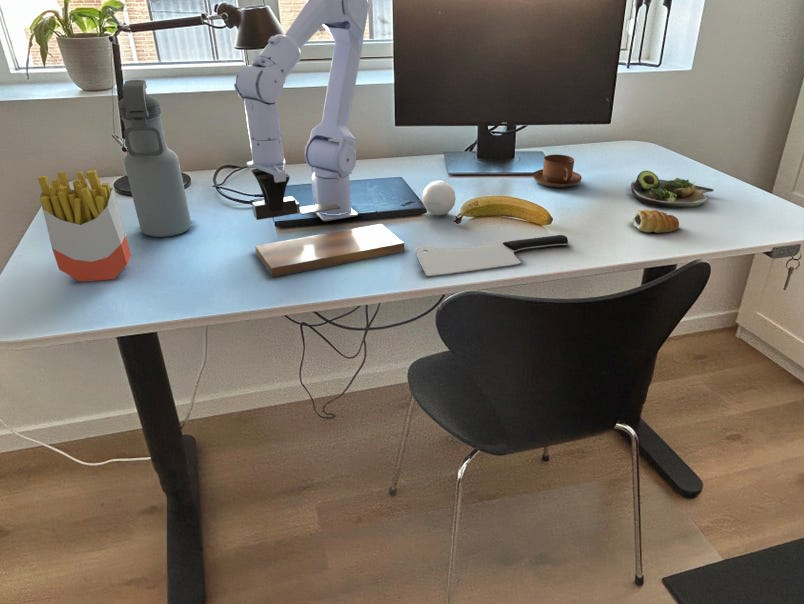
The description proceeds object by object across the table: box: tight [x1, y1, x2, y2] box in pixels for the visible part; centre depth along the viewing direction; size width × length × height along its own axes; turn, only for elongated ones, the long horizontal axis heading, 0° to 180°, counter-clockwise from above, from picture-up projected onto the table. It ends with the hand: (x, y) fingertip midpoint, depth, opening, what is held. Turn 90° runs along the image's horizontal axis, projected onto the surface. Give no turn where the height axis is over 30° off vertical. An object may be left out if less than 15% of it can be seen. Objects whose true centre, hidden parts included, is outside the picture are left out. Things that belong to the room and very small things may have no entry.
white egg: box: [415, 180, 457, 216], centre depth 143 cm, size 10×7×7 cm
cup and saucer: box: [532, 154, 583, 188], centre depth 163 cm, size 12×12×6 cm
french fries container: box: [37, 169, 132, 282], centre depth 111 cm, size 5×11×18 cm, turn 102°
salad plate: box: [630, 170, 715, 208], centre depth 157 cm, size 19×18×5 cm
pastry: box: [632, 209, 680, 234], centre depth 140 cm, size 9×7×4 cm
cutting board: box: [254, 223, 405, 278], centre depth 126 cm, size 11×26×2 cm, turn 119°
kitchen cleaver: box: [415, 234, 569, 277], centre depth 126 cm, size 31×2×10 cm
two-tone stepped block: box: [251, 195, 340, 221], centre depth 130 cm, size 4×17×3 cm, turn 119°
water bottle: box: [117, 79, 192, 238], centre depth 127 cm, size 10×10×28 cm
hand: (274, 207), depth 129 cm, fingers closed on two-tone stepped block, 2 cm apart
